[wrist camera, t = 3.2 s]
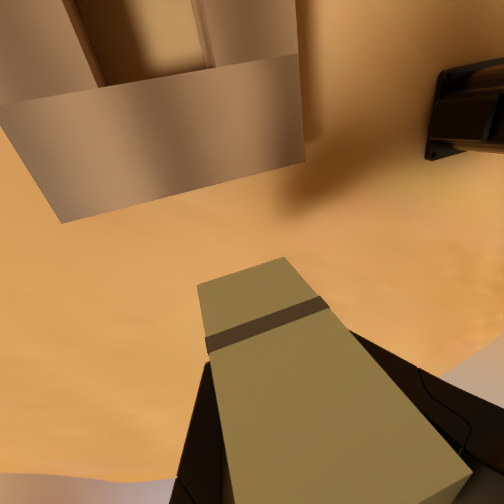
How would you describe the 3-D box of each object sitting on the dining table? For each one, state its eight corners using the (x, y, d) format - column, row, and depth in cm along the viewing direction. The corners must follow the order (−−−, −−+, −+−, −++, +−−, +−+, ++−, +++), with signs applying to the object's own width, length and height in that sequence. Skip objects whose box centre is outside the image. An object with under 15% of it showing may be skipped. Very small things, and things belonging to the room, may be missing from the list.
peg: (284, 256, 11) (474, 470, 4) (293, 320, 13) (429, 534, 6) (195, 284, 10) (249, 598, 3) (219, 347, 12) (282, 623, 5)
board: (242, -272, 10) (268, -416, 7) (285, 155, 18) (305, 161, 15) (-207, -302, 7) (-411, -532, 5) (79, 207, 15) (61, 223, 13)
